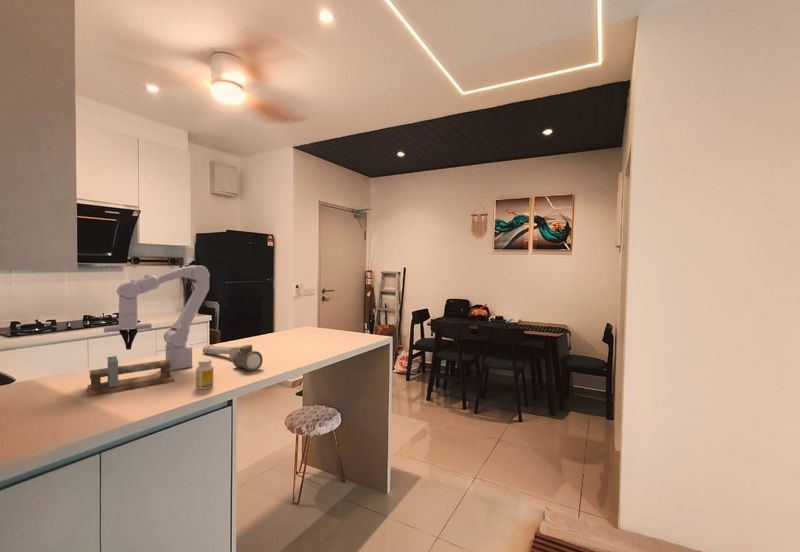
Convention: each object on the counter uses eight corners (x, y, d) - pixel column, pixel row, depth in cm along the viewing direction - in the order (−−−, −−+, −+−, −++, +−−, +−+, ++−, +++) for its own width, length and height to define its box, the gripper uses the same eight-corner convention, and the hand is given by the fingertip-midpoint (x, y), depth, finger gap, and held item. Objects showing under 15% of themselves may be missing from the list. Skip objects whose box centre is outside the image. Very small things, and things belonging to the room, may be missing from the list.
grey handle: (211, 344, 177) (244, 343, 165) (212, 358, 177) (246, 358, 164) (200, 346, 172) (234, 345, 160) (202, 360, 172) (235, 360, 160)
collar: (116, 379, 129) (116, 356, 128) (118, 386, 122) (118, 361, 122) (107, 381, 127) (107, 357, 127) (109, 387, 121) (109, 362, 120)
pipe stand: (168, 374, 140) (168, 355, 140) (174, 381, 132) (174, 361, 132) (87, 387, 124) (87, 366, 124) (88, 396, 116) (88, 374, 116)
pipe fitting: (264, 367, 150) (261, 343, 150) (247, 374, 143) (243, 348, 143) (248, 366, 157) (245, 343, 156) (231, 372, 150) (227, 348, 150)
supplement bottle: (192, 389, 124) (192, 362, 124) (201, 384, 130) (201, 358, 129) (208, 389, 124) (208, 362, 124) (216, 384, 130) (216, 358, 129)
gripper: (104, 316, 130) (104, 354, 130) (152, 313, 139) (152, 348, 140) (103, 314, 135) (103, 350, 135) (149, 311, 144) (150, 345, 145)
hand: (128, 349), depth 138 cm, fingers closed
